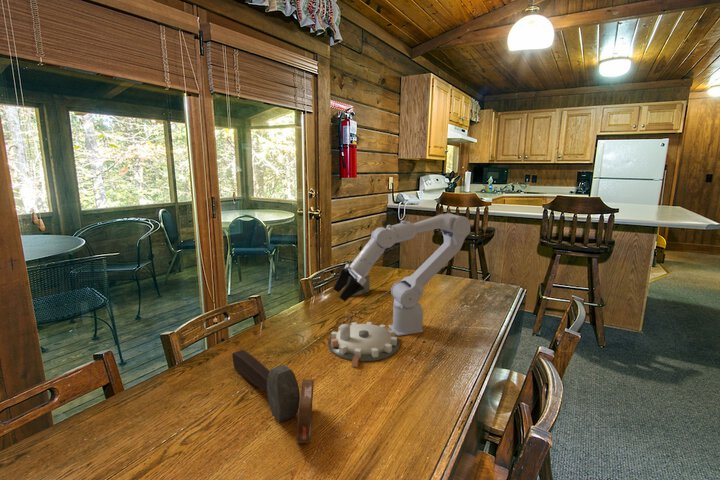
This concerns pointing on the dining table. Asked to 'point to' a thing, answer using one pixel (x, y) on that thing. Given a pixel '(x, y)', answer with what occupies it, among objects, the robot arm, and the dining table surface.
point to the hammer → (271, 384)
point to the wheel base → (363, 358)
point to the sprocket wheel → (363, 339)
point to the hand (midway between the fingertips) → (338, 294)
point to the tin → (305, 412)
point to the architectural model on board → (366, 286)
